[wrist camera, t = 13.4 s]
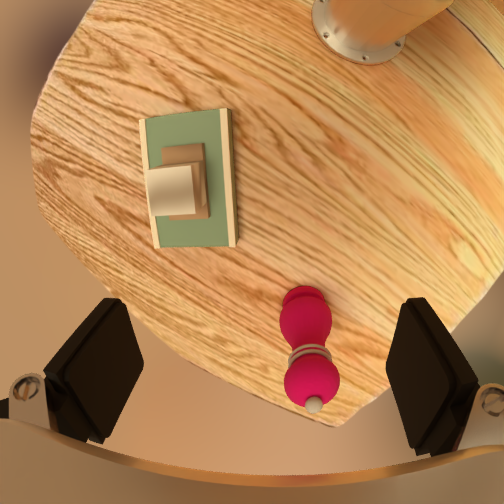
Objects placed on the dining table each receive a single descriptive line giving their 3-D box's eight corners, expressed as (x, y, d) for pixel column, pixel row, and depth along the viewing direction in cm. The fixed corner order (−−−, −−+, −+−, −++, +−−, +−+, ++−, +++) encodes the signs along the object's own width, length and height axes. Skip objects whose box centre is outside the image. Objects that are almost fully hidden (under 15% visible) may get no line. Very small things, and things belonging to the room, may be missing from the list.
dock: (149, 120, 35) (138, 119, 32) (230, 110, 34) (226, 107, 31) (163, 239, 42) (154, 248, 39) (238, 237, 41) (235, 247, 38)
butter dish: (164, 147, 34) (143, 151, 28) (204, 142, 33) (189, 145, 27) (172, 217, 37) (154, 234, 31) (210, 215, 37) (197, 232, 31)
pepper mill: (327, 280, 42) (355, 384, 24) (327, 321, 45) (346, 427, 26) (277, 284, 43) (274, 391, 24) (281, 324, 46) (278, 432, 27)
